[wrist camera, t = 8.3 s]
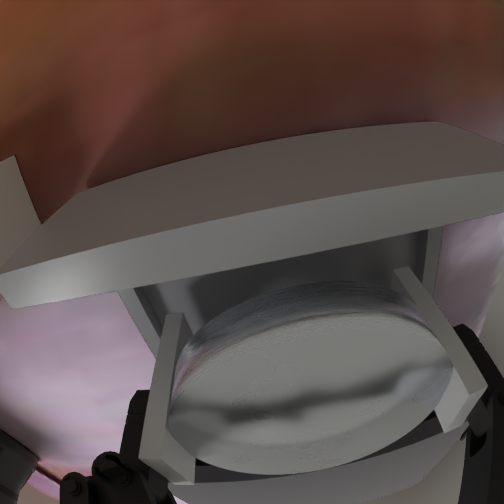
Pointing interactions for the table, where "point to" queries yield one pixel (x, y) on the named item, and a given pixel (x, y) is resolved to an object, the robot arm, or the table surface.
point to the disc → (306, 378)
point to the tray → (261, 222)
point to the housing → (329, 474)
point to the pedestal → (14, 210)
